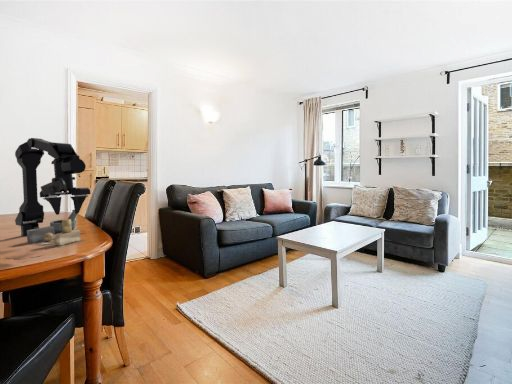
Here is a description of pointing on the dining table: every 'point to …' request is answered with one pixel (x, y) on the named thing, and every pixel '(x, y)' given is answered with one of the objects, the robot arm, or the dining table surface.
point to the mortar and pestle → (58, 223)
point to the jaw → (66, 234)
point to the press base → (37, 239)
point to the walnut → (48, 236)
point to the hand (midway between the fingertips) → (67, 214)
